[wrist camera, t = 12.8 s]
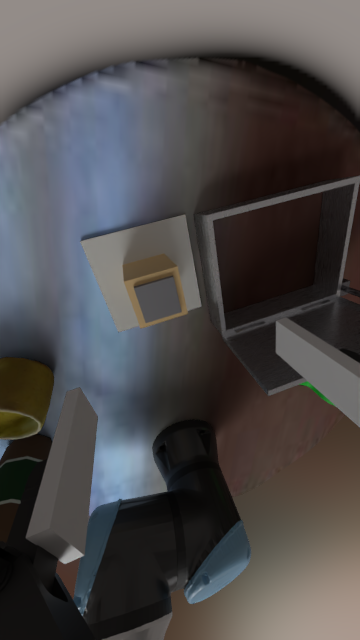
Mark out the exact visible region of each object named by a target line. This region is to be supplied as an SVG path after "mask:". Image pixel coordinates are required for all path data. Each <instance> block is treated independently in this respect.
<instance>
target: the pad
mask: <svg viewBox="0 0 360 640" xmlns="http://www.w3.org/2000/svg"><path fill="white" fill-rule="evenodd" d="M80 242H81V245H82V247H83V249H84V252H85V254H86V256H87V259H88V261H89V264H90V266H91V268H92V271H93V273H94V275H95V278H96V280H97V282H98V285H99V287H100V290H101V292H102V294H103V297H104V299H105V301H106V304H107V306H108V309H109V311H110V313H111V316H112V318H113V320H114V323H115V325H116V327H117V330H118V332H122V331H125V330H128V329H131V328H134V327H138V326H139V323H138V320H137V317H136V314H135V312H134V309H133V306H132V303H131V301H130V298H129V295H128V292H127V289H126V287H125V284H124V279H123V267H122V265H124V264H128V263H131V262H135V261H138V260H142V259H146V258H149V257H153V256H156V255H160V254H165V255H166V256H167V257H168V258H169V259H170V260H171V261H173V262H174V263H175V264H176V265H177V266H178V270H179V275H180V279H181V284H182V289H183V293H184V298H185V302H186V307H187V311H189V310H192V309H195V308H198V307H202V306H201V300H200V295H199V289H198V283H197V278H196V272H195V267H194V261H193V255H192V250H191V244H190V238H189V233H188V227H187V222H186V216H185V215H180V216H176V217H172V218H168V219H164V220H161V221H157V222H153V223H149V224H145V225H141V226H137V227H133V228H129V229H125V230H121V231H117V232H114V233H110V234H106V235H102V236H98V237H94V238H90V239H86V240H82V241H80Z"/></svg>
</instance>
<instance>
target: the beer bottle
mask: <svg viewBox="0 0 360 640" xmlns="http://www.w3.org/2000/svg"><path fill="white" fill-rule="evenodd" d="M51 446H52V442H51V439H50V438H49V437H46V436H43V435H40V434H35V435H32V436H29V437H25V438H21V439H15V440H14V441H13V442H12V443H11V444H10V445H9V446H8V447H7V449H6V451H5V452H4V454H3V456H2V458H1V460H0V541H4V542H5V543H6V542H7V539H8V536H9V533H10V530H11V527H12V524H13V521H14V518H15V515H16V512H17V509H18V506H19V504H20V503H21V501H20V500H21V498H22V495H23V492H24V489H25V486H26V483H27V480H28V477H29V475H30V473H31V472H32V470H33V468H34V467H35V465H36V464H37V462H40V461H43V460H45V459H48V457H49V453H50V450H51Z"/></svg>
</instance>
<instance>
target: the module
mask: <svg viewBox="0 0 360 640" xmlns="http://www.w3.org/2000/svg"><path fill="white" fill-rule="evenodd" d="M122 267H123V279H124V284H125V287H126V289H127V292H128V295H129V298H130V301H131V303H132V306H133V309H134V312H135V314H136V317H137V320H138V323H139V326H140V328H145V327H148V326H151V325H154V324H157V323H160V322H164V321H167V320H170V319H173V318H176V317H179V316H183V315H186V314H188V311H187V307H186V302H185V298H184V293H183V289H182V284H181V279H180V275H179V270H178V266H177V265H176V264H175V263H174V262H173V261H171V260H170V259H169V258H168V257H167V256H166V255H165V254H160V255H156V256H153V257H149V258H146V259H142V260H138V261H135V262H131V263H128V264H124V265H122Z"/></svg>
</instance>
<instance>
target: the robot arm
mask: <svg viewBox="0 0 360 640" xmlns="http://www.w3.org/2000/svg"><path fill="white" fill-rule="evenodd" d="M276 353H277V354H278V355H279V356H280V357H281V358H282V359H283V360H284V361H286V362H287V363H288V364H289V365H290V366H291V367H292V368H293V369H295V370H296V371H297V372H298V373H299V374H300V375H301V376H302V377H304V378H305V379H306V380H307V381H308V382H309V383H310V384H311V385H313V386H314V387H315V388H316V389H317V390H318V391H319V392H320V393H322V394H323V395H324V396H325V397H326V398H327V399H328V400H330V401H331V402H332V403H333V404H334V405H335V406H336V407H337V408H339V409H340V410H341V411H342V412H343V413H344V414H345V415H346V416H348V417H349V418H350V419H351V420H352V421H353V422H354V423H355V424H357V425H358V426H359V427H360V355H359V354H357V353H356V352H353V351H350V350H347V349H344V348H342V349H340V350H338V349H336V348H334V347H333V346H331V345H330V344H328V343H326V342H325V341H323V340H322V339H320V338H318V337H317V336H315V335H314V334H312V333H310V332H309V331H307V330H305V329H304V328H302V327H301V326H299V325H297V324H296V323H294V322H293V321H291V320H289V319H288V318H283V319H280V320H277V321H276ZM97 421H98V416H97V414H96V413H95V411H94V410H93V408H92V406H91V405H90V403H89V401H88V400H87V398H86V397H85V395H84V393H83V392H82V390H81V388H80V387H79V388H76V389H73V390H70V391H67V393H66V396H65V400H64V403H63V407H62V411H61V414H60V418H59V421H58V425H57V428H56V432H55V435H54V439H53V442H52V446H51V450H50V453H49V457H48V459H45V460H43V461H40V462H37V464H36V465H35V467H34V468H33V470H32V472H31V473H30V475H29V477H28V480H27V483H26V486H25V489H24V492H23V495H22V498H21V500H20V501H21V503H20V504H19V506H18V509H17V512H16V515H15V518H14V521H13V524H12V527H11V530H10V533H9V536H8V539H7V542H6V543H5V542H4V541H0V640H164V635H165V632H166V629H167V627H168V624H169V622H170V620H171V617H172V606H171V596H170V594H171V592H173V591H176V590H179V589H182V588H184V594H185V596H186V598H187V601H188V602H189V603H190V604H194V603H195V602H200V601H202V600H204V599H206V598H208V597H210V596H211V595H213V594H214V593H216V592H218V591H219V590H220V589H222V588H223V587H225V586H226V585H227V584H229V583H230V582H231V581H232V580H233V579H235V578H236V577H237V576H238V575H239V574H240V573H241V572H242V571H243V570H244V569H245V568H246V566H247V565H248V563H249V561H250V558H251V547H250V544H249V541H248V538H247V535H246V532H245V529H244V526H243V521H242V520H241V518H240V516H239V513H238V511H237V508H236V506H235V503H234V501H233V498H232V496H231V493H230V491H229V488H228V486H227V484H226V481H225V479H224V476H223V474H222V471H221V469H220V466H219V463H218V453H217V442H216V436H215V433H214V431H213V429H212V427H211V425H210V424H208V423H207V422H205V421H202V420H195V419H192V420H184V421H181V422H178V423H175V424H173V425H171V426H169V427H167V428H166V429H165V430H163V431H162V432H161V433H160V434H159V435H158V436H157V437H156V439H155V441H154V443H153V447H152V450H153V457H154V461H155V463H156V465H157V467H158V469H159V471H160V473H161V475H162V477H163V479H164V480H165V482H166V485H167V490H168V492H163V493H158V494H153V495H148V496H143V497H137V498H132V499H126V500H122V499H119V500H118V501H116V502H112V503H108V504H104V505H101V506H99V507H97V508H96V509H95V510H94V511H93V512H92V514H91V516H90V519H89V522H88V515H89V504H90V494H91V484H92V473H93V463H94V452H95V442H96V431H97ZM87 525H88V526H87ZM80 557H81V559H80V564H79V569H78V575H77V580H76V586H75V594H74V600H73V599H72V597H71V596H70V594H69V592H68V591H67V589H66V587H65V585H64V584H63V582H62V580H61V578H60V577H59V575H58V574H57V573H56V567H57V561H58V560H59V561H61V562H63V563H64V564H66V563H68V562H70V561H73V560H75V559H78V558H80Z"/></svg>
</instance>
